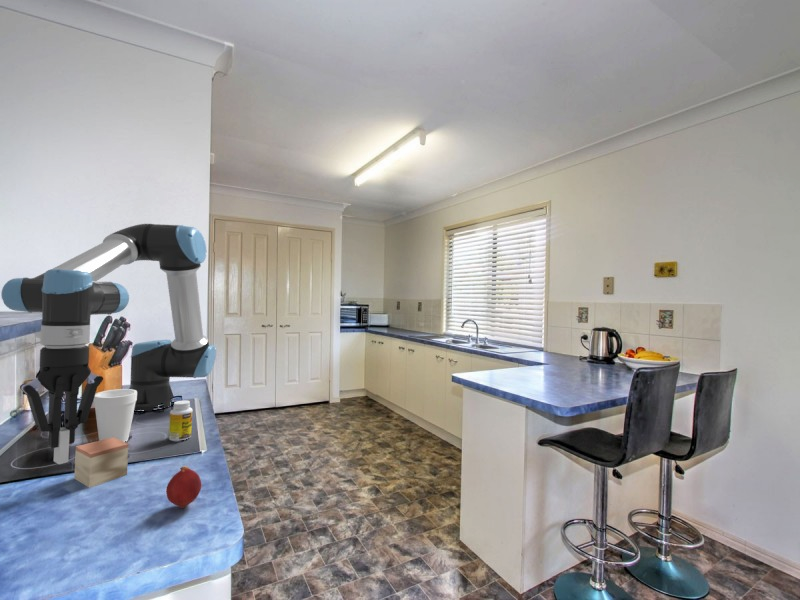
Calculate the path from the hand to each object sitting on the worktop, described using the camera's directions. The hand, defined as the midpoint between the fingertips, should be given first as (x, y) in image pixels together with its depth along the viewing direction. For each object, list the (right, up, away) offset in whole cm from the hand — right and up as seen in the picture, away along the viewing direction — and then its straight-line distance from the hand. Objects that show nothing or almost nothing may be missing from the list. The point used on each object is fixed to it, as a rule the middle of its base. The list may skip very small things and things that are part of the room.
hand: (60, 461), depth 78 cm
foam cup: (-8, -6, +26) cm, 28 cm away
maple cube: (+3, -6, +6) cm, 9 cm away
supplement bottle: (+7, -6, +30) cm, 31 cm away
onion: (+27, -7, -4) cm, 29 cm away
